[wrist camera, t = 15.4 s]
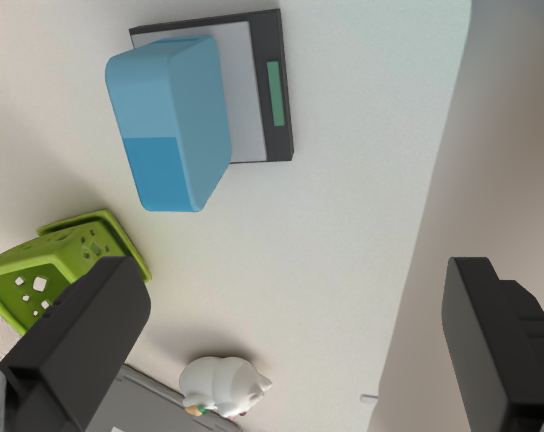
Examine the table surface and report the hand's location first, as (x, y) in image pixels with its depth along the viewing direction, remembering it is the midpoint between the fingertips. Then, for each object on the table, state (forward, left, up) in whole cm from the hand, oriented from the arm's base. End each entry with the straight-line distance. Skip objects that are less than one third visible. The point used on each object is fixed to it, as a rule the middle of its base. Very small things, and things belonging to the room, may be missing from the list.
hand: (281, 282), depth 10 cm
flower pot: (+32, +22, -32) cm, 50 cm away
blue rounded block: (+12, +2, -29) cm, 31 cm away
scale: (+11, +2, -32) cm, 34 cm away
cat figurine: (+18, +46, -32) cm, 59 cm away
